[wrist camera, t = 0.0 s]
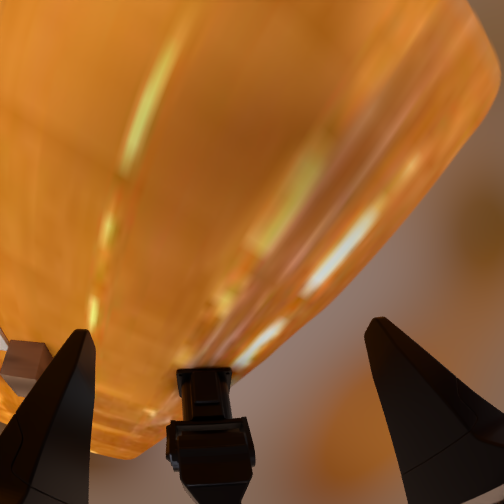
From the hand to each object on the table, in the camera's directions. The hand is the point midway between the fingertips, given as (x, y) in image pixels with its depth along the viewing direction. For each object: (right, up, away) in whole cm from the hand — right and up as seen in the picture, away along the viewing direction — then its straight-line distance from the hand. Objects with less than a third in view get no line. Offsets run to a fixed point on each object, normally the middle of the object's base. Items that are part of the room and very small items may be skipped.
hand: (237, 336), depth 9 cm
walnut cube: (-26, -10, +21) cm, 35 cm away
